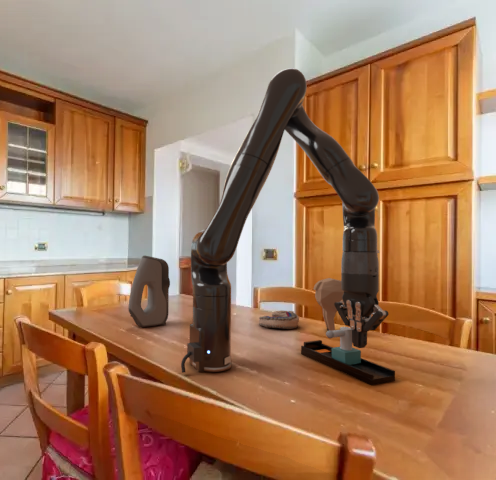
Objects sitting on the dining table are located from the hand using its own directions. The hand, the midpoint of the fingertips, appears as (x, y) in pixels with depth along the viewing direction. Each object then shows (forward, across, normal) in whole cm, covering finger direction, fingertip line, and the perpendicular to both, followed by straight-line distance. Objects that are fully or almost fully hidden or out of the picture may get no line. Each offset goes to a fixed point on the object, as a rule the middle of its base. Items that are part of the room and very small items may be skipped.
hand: (359, 346), depth 76 cm
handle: (+5, -4, -2) cm, 6 cm away
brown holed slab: (+6, -58, -33) cm, 67 cm away
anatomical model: (+6, -43, +11) cm, 45 cm away
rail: (+6, -5, 0) cm, 8 cm away
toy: (+6, -28, +26) cm, 39 cm away
